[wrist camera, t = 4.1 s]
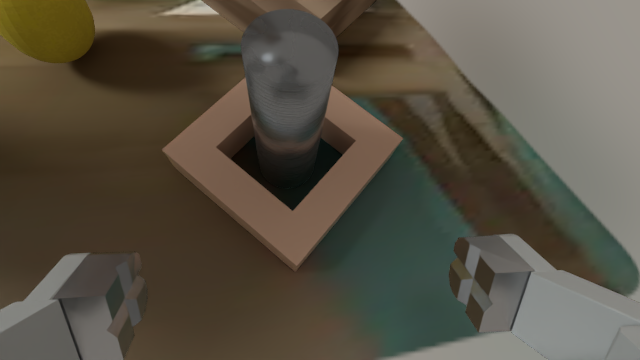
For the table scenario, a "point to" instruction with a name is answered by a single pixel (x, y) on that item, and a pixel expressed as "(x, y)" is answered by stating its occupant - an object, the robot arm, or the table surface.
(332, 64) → the steel peg
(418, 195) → the table surface
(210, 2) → the square peg hole block
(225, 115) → the socket collar
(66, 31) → the lemon
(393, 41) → the table surface
